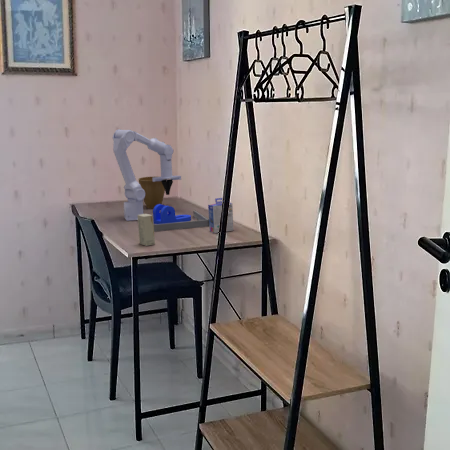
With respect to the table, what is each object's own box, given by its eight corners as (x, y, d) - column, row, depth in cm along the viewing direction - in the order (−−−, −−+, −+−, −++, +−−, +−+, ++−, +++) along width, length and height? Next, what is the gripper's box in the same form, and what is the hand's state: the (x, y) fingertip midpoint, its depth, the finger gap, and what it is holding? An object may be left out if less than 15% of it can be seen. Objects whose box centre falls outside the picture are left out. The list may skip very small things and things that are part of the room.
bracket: (163, 226, 291) (162, 207, 290) (153, 223, 298) (152, 205, 296) (194, 220, 303) (193, 201, 301) (184, 218, 309) (183, 200, 307)
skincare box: (155, 244, 256) (153, 215, 253) (145, 246, 254) (144, 216, 251) (148, 241, 261) (146, 213, 259) (138, 243, 259) (137, 214, 256)
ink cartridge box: (228, 228, 282) (227, 196, 279) (234, 230, 277) (233, 198, 274) (208, 231, 277) (207, 199, 274) (214, 233, 272) (213, 200, 269)
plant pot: (136, 210, 333) (134, 180, 330) (145, 205, 347) (143, 176, 344) (162, 210, 330) (161, 180, 327) (171, 205, 344) (169, 176, 341)
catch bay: (148, 232, 279) (148, 225, 279) (138, 221, 303) (138, 215, 302) (210, 226, 287) (209, 219, 287) (195, 216, 311) (195, 210, 310)
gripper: (153, 169, 312) (155, 196, 315) (182, 168, 317) (183, 194, 319) (151, 168, 319) (152, 194, 322) (178, 166, 323) (180, 192, 326)
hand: (167, 194), depth 321 cm, fingers closed
